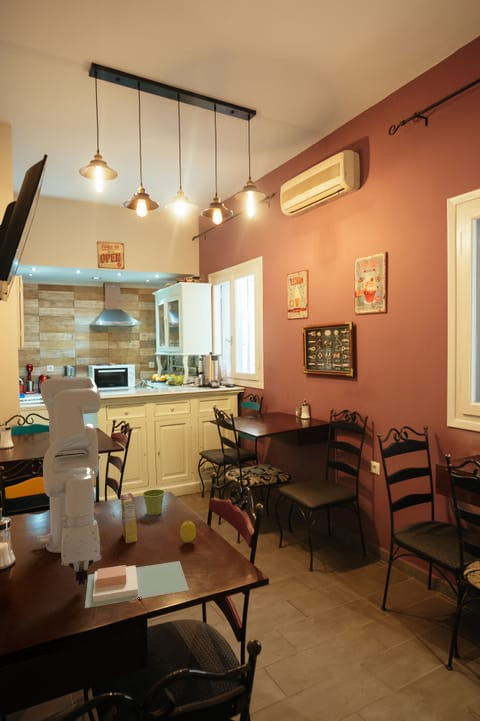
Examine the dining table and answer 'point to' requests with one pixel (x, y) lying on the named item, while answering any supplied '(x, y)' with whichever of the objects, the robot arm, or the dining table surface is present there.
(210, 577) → the dining table surface
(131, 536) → the candy box
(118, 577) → the terracotta tile
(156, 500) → the plant pot
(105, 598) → the block
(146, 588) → the rubber mat
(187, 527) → the lemon
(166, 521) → the dining table surface
